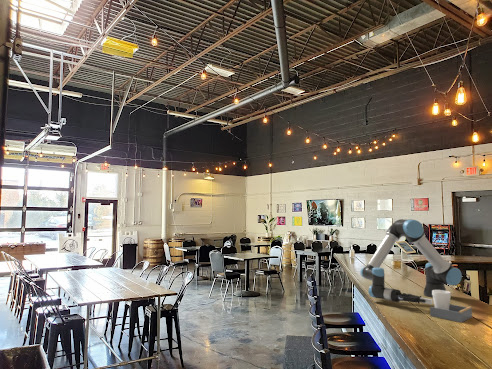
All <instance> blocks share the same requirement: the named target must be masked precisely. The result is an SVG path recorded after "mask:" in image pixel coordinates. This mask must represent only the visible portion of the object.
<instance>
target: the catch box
mask: <svg viewBox="0 0 492 369" xmlns="http://www.w3.org/2000/svg"><path fill="white" fill-rule="evenodd" d="M472 311H473V310H472V306H471V305H470V306H462V305H456V304H451V303H450V305H449V310H445V309H440V308H435V307H434V306H429V316H430V317H432V318H436V319H437V318H438V319H443V320H447V321H451V322H456V323H464V322H466V321H468V320H470V319H471V318H473V312H472Z"/></svg>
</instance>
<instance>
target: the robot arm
mask: <svg viewBox="0 0 492 369" xmlns="http://www.w3.org/2000/svg"><path fill="white" fill-rule="evenodd" d="M402 237H404V238H405V239H406V240H407V241H408V242H409V243H411V244H413V245H414V246H415V247H416V248H417V249H418V251H419V252H420V253H421V254H422V256H423V257H424V258H425V259H426V260H427V261H428V262H427V263H426V264H425V267H424V269H425V286H424V289H423V295H424V296H427V297H430V298H427V297H426V298H425V297H422V295H415V294H412V293H405V292H401V290H400V289H397V288H391V287H385V269H384V268H383V267H381V266H382V264H383V263H384V261H385V259H386V258H387V257H388V255H389V253H390V252H391V250H392V248H393V247H394V246H395V243H397V242H398V241H400V239H401V238H402ZM359 272H360V276H361V277H363V278H364V279H366V280H369V281H371V282H372V284H371V285H369V287H368V291H367V292H368V295H369V296H370V297H371V298H375V299H381V300H385V301H388V302H390V301H391V302H396V303H399V302H402V301H403V302H407V303H408V302H410V303H416V304H419V305H420V304H425V305H426V304H427V305H433V295H432V290H444V291H447V289H446V286H445V284H446V285H449V286H457V285H458V284H460V283H461V281H462V276H463V275H462V272H461V270H460V268H457V267H454V266H453V265H452V264H451V262H449V261H448V260H446V259H444V258H443V256H441V254H440V253H439V252H438V251H437V249H436V248H435V247H434V245H432V243H431V242H430V241H429V240H428V238H427V237H426V236H425V230H424V226H423V223H421V222H420V221H418V220H417V219H402V218H401V219H398V220H395V221H394V222H393V223H391V225H390V226H389V227H388V229H387V231H386V232H385V237H384V238H383V239H382V241H381V243H380V244H379V246H378V247H377V249H376V250H375V253H373V256H371V258H370V260H369V261H368V263H367V265H366V266H363V267H362V268H361V269H360V271H359Z"/></svg>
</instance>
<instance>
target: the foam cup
mask: <svg viewBox="0 0 492 369" xmlns="http://www.w3.org/2000/svg"><path fill="white" fill-rule="evenodd" d="M432 295H433V297H432V302H433V307H435V308H440V309H445V310H449V305H450V304H451V297H452V294H451V291H449V290H446V291H444V290H432Z"/></svg>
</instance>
